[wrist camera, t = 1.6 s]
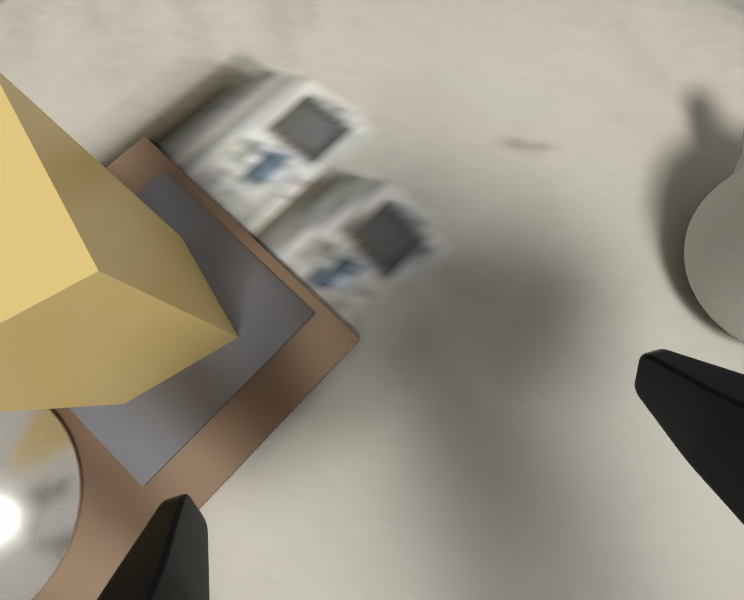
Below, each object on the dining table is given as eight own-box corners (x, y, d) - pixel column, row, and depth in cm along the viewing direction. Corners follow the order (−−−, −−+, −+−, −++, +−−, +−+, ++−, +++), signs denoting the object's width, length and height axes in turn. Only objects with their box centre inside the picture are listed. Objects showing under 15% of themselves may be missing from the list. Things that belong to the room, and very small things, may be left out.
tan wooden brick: (238, 337, 21) (98, 270, 9) (124, 404, 20) (-190, 423, 8) (181, 237, 22) (-12, 62, 10) (69, 297, 21) (-283, 180, 9)
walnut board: (151, 144, 24) (142, 132, 23) (359, 340, 22) (359, 337, 21) (-255, 481, 20) (-291, 486, 19) (-35, 755, 18) (-59, 779, 17)
